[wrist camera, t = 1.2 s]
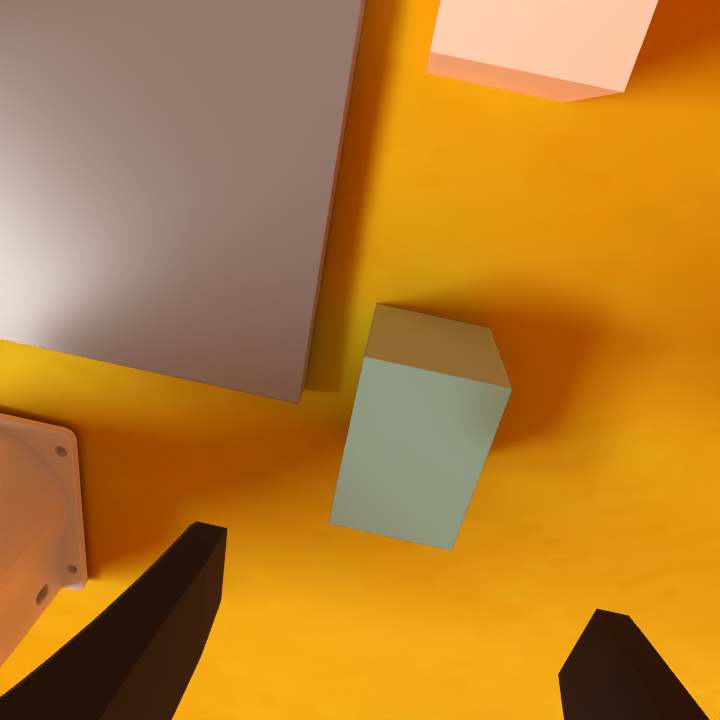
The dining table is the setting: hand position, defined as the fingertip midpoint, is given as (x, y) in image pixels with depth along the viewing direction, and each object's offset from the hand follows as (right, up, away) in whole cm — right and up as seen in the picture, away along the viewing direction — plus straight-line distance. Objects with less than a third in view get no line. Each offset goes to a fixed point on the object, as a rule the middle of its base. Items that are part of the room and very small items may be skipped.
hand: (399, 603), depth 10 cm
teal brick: (+1, +4, +9) cm, 10 cm away
